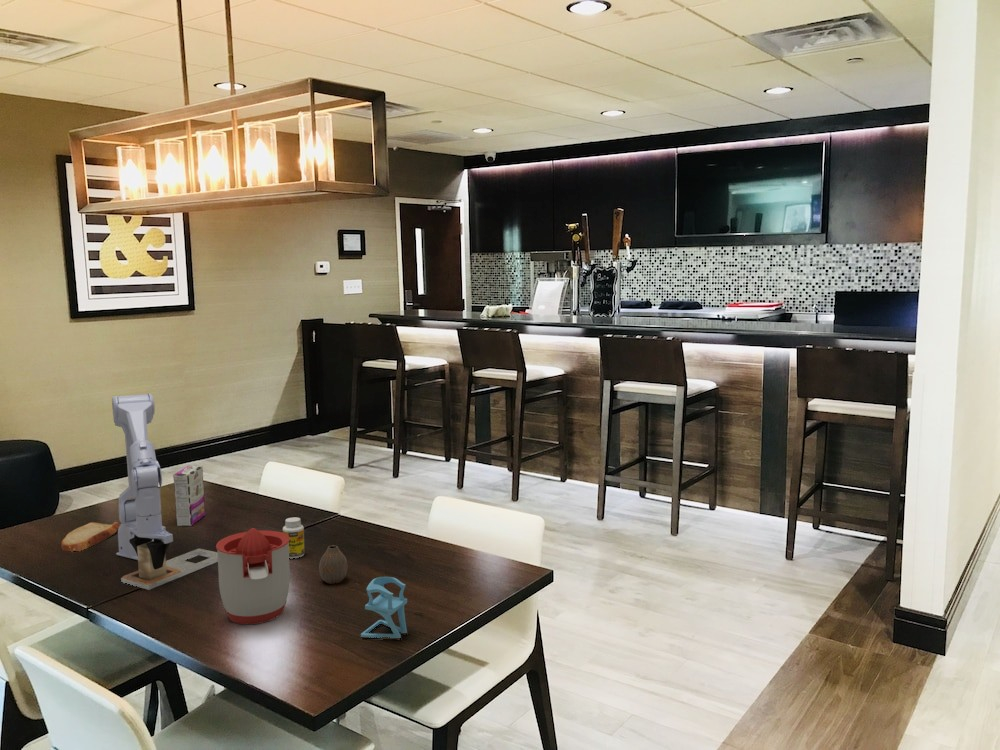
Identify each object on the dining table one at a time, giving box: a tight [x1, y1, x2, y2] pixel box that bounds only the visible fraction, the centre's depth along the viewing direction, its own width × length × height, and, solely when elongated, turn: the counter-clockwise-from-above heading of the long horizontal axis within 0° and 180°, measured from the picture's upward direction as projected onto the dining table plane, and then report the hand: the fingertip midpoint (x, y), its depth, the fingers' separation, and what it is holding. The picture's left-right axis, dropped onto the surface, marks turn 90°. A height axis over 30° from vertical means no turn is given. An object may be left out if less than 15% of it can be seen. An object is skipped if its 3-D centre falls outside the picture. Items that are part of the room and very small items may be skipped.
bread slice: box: [60, 521, 121, 553], centre depth 225 cm, size 18×18×4 cm
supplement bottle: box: [282, 516, 305, 560], centre depth 210 cm, size 6×6×10 cm
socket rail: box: [120, 548, 218, 591], centre depth 200 cm, size 10×24×2 cm, turn 153°
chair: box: [360, 576, 408, 639], centre depth 163 cm, size 8×8×12 cm
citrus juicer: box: [215, 527, 291, 625], centre depth 172 cm, size 16×17×20 cm
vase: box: [318, 544, 348, 585], centre depth 193 cm, size 7×7×9 cm
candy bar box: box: [172, 465, 206, 527], centre depth 240 cm, size 11×5×16 cm, turn 179°
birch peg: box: [137, 541, 167, 581], centre depth 194 cm, size 4×4×8 cm
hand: (151, 566), depth 194 cm, fingers closed on birch peg, 4 cm apart
